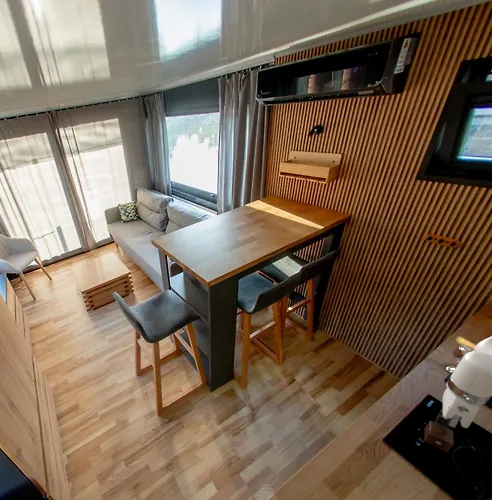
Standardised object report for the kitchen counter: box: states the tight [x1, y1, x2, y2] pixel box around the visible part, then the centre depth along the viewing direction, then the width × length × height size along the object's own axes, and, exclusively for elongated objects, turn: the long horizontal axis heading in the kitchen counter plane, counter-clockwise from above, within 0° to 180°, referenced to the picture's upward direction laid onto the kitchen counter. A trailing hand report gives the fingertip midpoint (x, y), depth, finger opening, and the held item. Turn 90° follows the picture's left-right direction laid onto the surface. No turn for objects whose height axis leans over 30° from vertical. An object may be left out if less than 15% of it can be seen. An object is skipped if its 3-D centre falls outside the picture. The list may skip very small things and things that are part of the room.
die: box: [423, 420, 454, 453], centre depth 81 cm, size 5×5×5 cm
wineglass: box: [446, 344, 475, 375], centre depth 97 cm, size 6×6×12 cm
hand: (443, 423), depth 81 cm, fingers closed
